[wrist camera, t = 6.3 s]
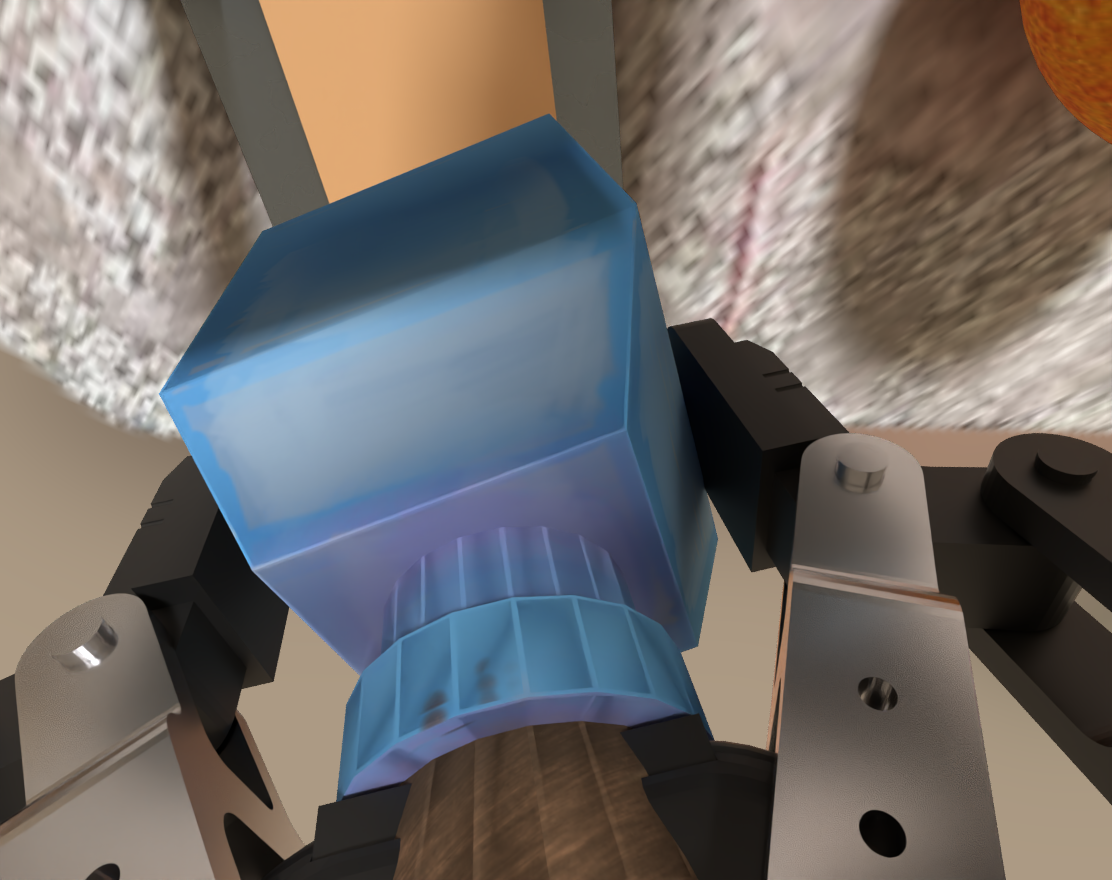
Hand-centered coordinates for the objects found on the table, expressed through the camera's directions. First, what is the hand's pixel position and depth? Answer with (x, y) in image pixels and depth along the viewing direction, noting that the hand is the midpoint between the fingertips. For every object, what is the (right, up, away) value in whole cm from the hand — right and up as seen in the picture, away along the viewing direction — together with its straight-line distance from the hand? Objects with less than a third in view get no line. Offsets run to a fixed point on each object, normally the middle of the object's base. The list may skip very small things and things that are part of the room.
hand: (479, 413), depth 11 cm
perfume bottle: (-1, +3, +4) cm, 5 cm away
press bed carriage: (-4, +11, +16) cm, 20 cm away
